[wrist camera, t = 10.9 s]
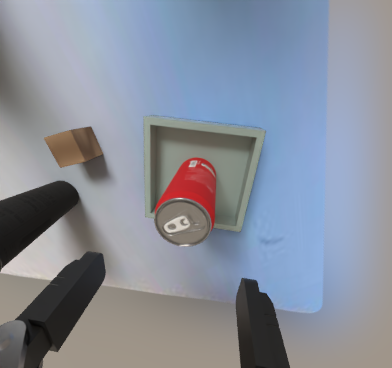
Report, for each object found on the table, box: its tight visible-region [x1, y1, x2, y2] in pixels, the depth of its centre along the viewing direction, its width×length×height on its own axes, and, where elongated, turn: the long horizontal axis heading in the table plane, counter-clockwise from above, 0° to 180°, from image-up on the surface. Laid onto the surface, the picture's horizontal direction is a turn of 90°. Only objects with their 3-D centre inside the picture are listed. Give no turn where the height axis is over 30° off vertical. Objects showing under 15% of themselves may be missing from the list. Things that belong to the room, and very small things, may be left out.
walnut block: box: [44, 127, 103, 168], centre depth 25 cm, size 4×4×4 cm
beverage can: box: [154, 157, 216, 247], centre depth 20 cm, size 5×5×12 cm
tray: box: [144, 115, 266, 232], centre depth 25 cm, size 14×14×3 cm
